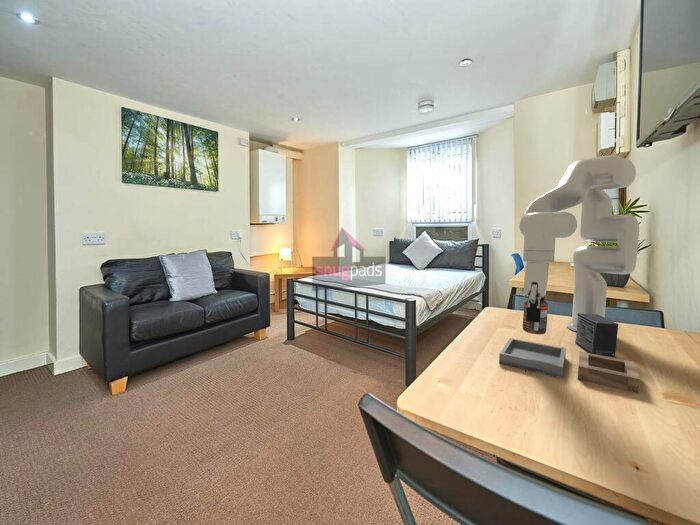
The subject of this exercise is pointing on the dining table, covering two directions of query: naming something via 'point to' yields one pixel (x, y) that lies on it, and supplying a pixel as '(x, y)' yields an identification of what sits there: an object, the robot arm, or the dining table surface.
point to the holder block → (608, 371)
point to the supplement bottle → (536, 326)
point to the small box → (597, 334)
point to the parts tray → (533, 357)
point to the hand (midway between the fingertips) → (534, 317)
